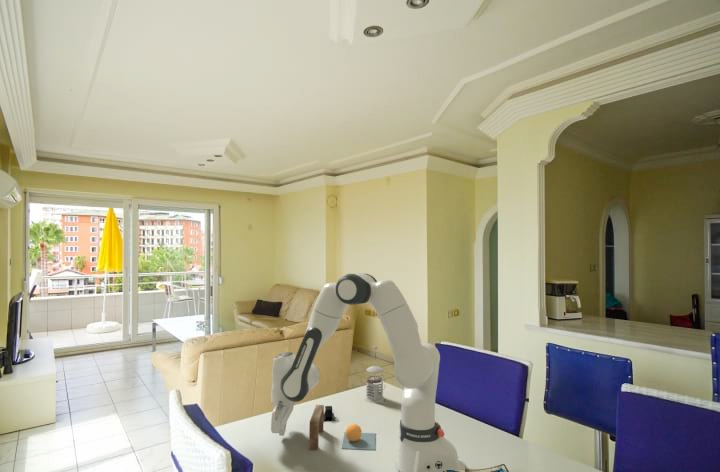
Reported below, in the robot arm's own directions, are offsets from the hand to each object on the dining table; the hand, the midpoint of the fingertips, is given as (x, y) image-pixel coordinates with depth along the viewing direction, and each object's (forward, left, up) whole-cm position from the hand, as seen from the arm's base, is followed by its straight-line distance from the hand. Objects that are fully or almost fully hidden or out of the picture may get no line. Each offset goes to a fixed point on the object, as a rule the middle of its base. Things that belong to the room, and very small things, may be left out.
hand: (282, 433), depth 143 cm
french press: (-35, -40, -2) cm, 53 cm away
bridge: (-13, 0, -2) cm, 13 cm away
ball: (-27, 0, +1) cm, 27 cm away
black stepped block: (-15, -19, -2) cm, 25 cm away
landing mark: (-29, 0, -2) cm, 29 cm away
